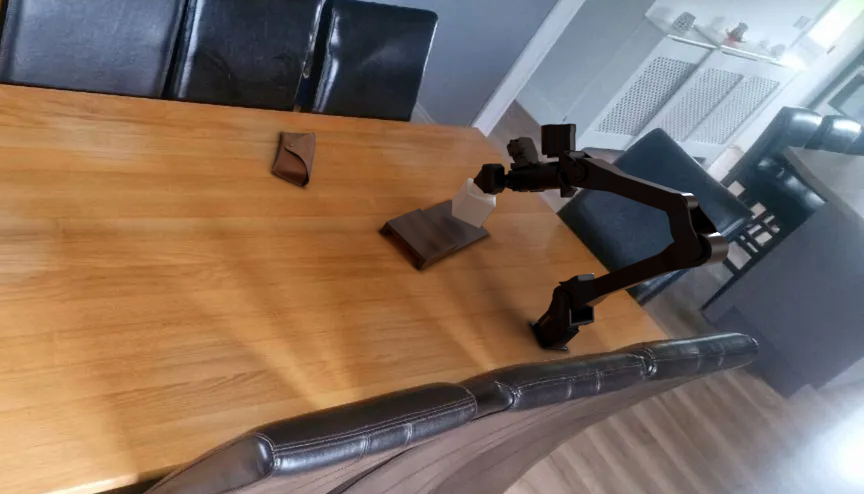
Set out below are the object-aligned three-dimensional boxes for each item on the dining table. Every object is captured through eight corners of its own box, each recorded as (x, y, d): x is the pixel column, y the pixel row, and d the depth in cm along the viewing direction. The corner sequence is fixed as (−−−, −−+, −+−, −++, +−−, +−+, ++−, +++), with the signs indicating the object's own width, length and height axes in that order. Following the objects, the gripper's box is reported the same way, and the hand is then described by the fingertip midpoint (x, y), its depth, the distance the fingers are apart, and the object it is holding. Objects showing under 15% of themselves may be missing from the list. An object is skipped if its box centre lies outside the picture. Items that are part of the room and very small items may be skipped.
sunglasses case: (279, 129, 164) (303, 115, 161) (297, 151, 167) (320, 137, 164) (270, 172, 151) (295, 157, 147) (290, 195, 154) (315, 181, 151)
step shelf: (451, 201, 171) (457, 192, 170) (487, 234, 167) (494, 226, 165) (379, 231, 151) (386, 221, 149) (419, 270, 146) (426, 260, 145)
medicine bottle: (479, 229, 160) (509, 190, 153) (451, 216, 160) (480, 176, 153) (478, 212, 166) (507, 173, 159) (451, 199, 166) (479, 160, 158)
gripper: (570, 138, 150) (509, 145, 163) (514, 135, 140) (453, 143, 153) (571, 190, 150) (510, 193, 163) (515, 191, 140) (455, 195, 153)
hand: (483, 180), depth 158 cm, fingers closed on medicine bottle, 6 cm apart
